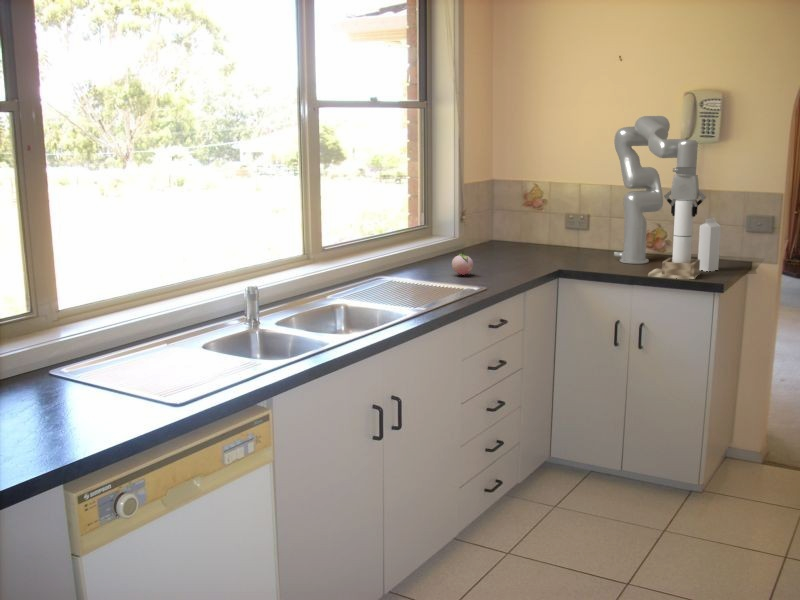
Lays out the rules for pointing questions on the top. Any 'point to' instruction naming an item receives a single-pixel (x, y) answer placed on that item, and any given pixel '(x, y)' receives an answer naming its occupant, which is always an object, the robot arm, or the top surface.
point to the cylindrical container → (682, 231)
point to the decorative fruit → (462, 264)
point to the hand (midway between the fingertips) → (683, 215)
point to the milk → (709, 245)
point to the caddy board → (677, 270)
